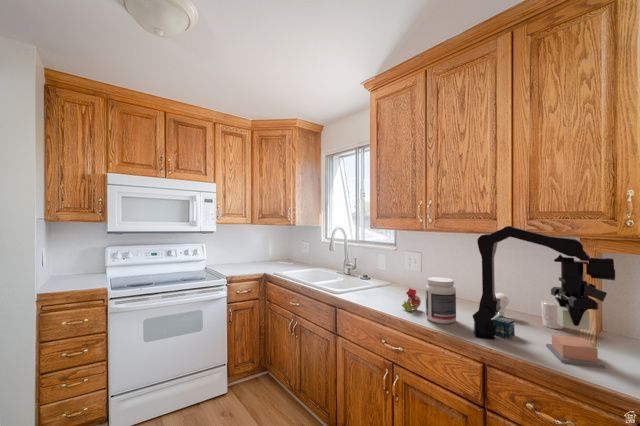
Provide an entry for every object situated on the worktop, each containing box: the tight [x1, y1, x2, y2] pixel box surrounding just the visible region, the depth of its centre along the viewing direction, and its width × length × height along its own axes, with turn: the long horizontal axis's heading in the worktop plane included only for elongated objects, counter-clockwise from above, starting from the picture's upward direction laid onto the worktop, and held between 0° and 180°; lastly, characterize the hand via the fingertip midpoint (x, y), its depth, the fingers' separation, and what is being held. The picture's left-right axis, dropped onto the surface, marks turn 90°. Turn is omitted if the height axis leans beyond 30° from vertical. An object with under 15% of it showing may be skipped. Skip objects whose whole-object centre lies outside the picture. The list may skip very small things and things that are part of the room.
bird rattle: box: [401, 287, 422, 313], centre depth 150 cm, size 6×11×9 cm
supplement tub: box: [425, 276, 457, 325], centre depth 135 cm, size 13×13×18 cm
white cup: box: [540, 300, 564, 330], centre depth 128 cm, size 8×8×10 cm
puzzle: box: [492, 316, 516, 340], centre depth 118 cm, size 6×6×6 cm
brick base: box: [545, 334, 606, 369], centre depth 99 cm, size 11×13×5 cm
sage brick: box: [557, 306, 590, 331], centre depth 100 cm, size 7×5×6 cm, turn 70°
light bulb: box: [495, 292, 510, 317], centre depth 141 cm, size 7×7×11 cm
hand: (572, 323), depth 100 cm, fingers closed on sage brick, 5 cm apart
